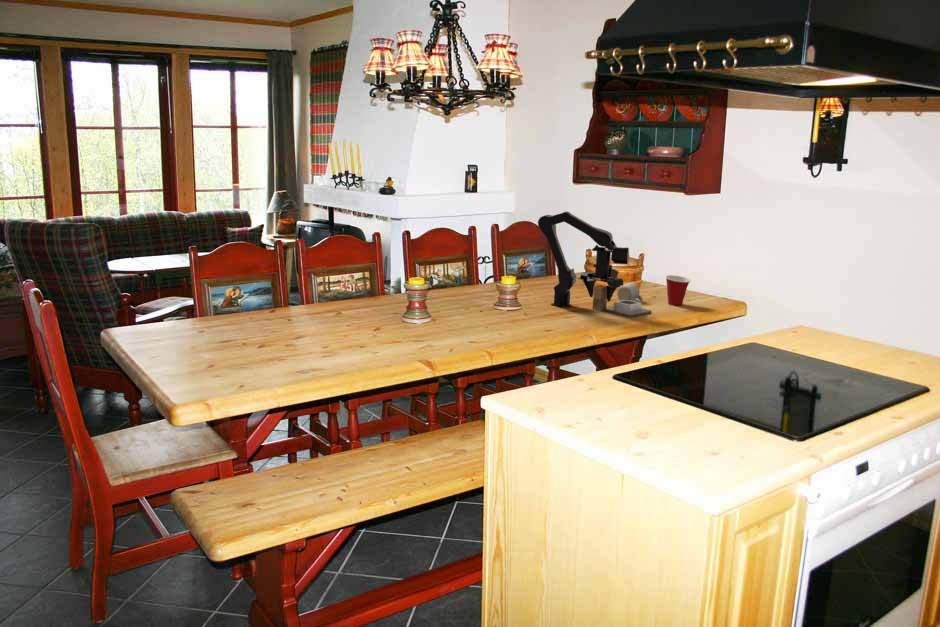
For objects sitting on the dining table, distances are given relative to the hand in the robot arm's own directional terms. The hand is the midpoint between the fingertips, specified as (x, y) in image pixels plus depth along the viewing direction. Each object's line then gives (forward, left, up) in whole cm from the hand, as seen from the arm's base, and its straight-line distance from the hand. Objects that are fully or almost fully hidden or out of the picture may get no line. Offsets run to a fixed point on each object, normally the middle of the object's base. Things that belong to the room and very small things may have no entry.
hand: (599, 299), depth 319 cm
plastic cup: (+37, -12, -5) cm, 39 cm away
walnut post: (0, 0, -4) cm, 4 cm away
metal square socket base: (+7, -9, -4) cm, 12 cm away
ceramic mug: (+25, +3, -5) cm, 26 cm away
